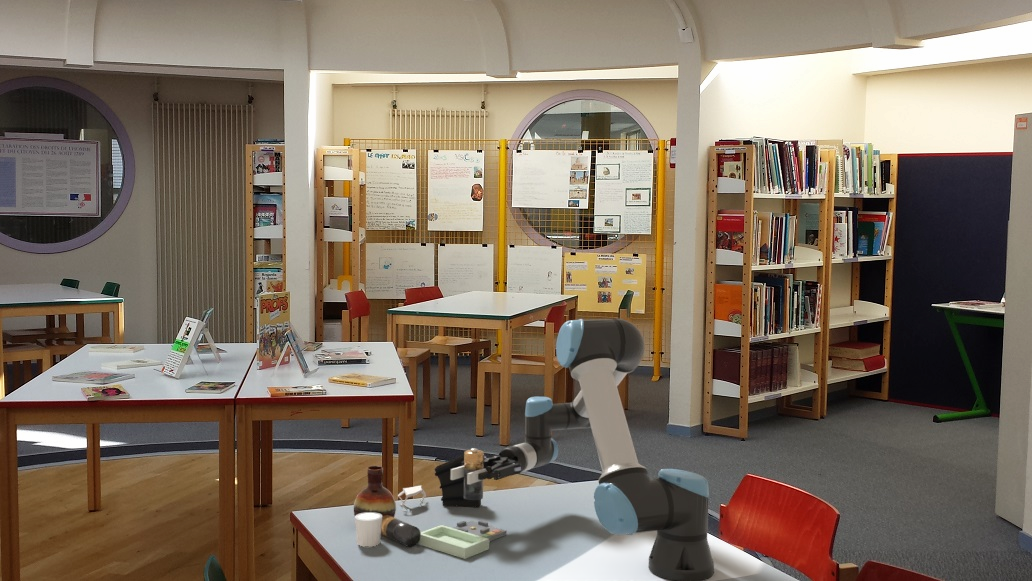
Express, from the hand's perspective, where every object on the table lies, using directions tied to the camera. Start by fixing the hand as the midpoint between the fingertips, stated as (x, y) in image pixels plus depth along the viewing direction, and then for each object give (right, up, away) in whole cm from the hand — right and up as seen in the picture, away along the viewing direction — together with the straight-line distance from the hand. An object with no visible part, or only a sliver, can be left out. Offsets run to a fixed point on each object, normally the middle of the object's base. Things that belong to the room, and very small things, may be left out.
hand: (460, 476), depth 236 cm
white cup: (-23, -16, -4) cm, 28 cm away
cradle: (+4, -16, +4) cm, 17 cm away
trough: (-1, -16, -6) cm, 17 cm away
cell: (+3, -6, +5) cm, 8 cm away
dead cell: (-15, -16, -2) cm, 22 cm away
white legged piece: (-16, -14, +26) cm, 33 cm away
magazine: (-2, -14, +28) cm, 32 cm away
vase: (-23, -15, +10) cm, 29 cm away
